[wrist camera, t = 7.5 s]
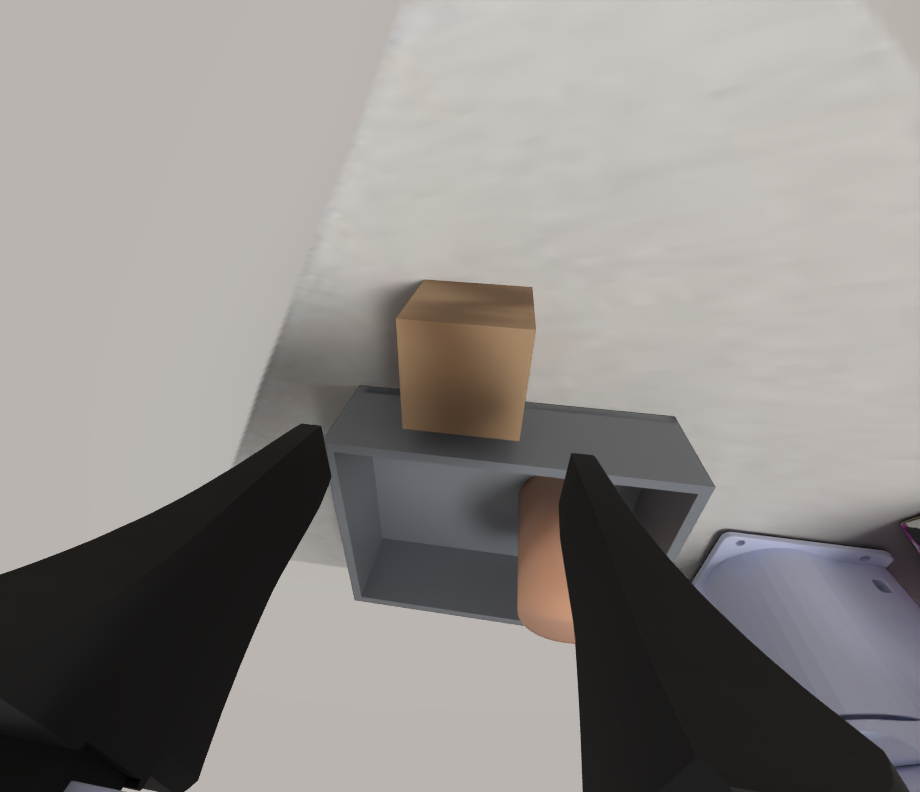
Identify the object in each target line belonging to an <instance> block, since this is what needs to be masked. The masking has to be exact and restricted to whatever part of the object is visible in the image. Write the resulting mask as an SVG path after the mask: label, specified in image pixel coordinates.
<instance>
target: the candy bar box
mask: <svg viewBox="0 0 920 792" xmlns="http://www.w3.org/2000/svg"><path fill="white" fill-rule="evenodd" d="M901 527H902V528H903V530H904V532H905V533H906V535H907V536H908V538H909V539H910V541H911V543H912V544H913V546H914V548H915V549H916V551H917V552H918V554H919V555H920V516H918V517H915V518H912V519H909V520H906V521H904V522H902V523H901Z"/></svg>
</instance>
